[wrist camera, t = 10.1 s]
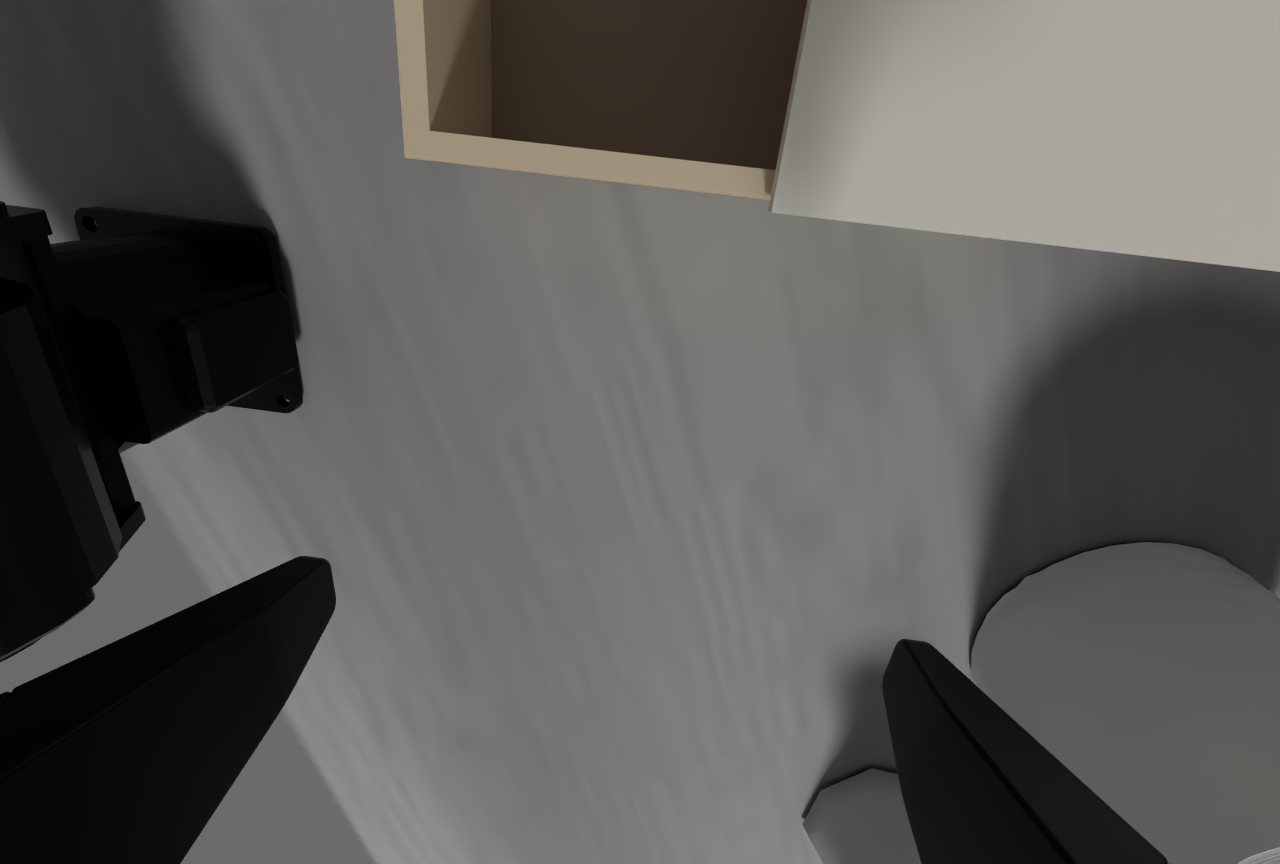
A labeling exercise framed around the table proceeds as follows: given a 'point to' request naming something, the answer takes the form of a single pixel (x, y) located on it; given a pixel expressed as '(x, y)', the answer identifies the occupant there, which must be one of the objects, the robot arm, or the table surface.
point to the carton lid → (1043, 123)
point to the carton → (602, 88)
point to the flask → (862, 822)
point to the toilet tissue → (1151, 691)
